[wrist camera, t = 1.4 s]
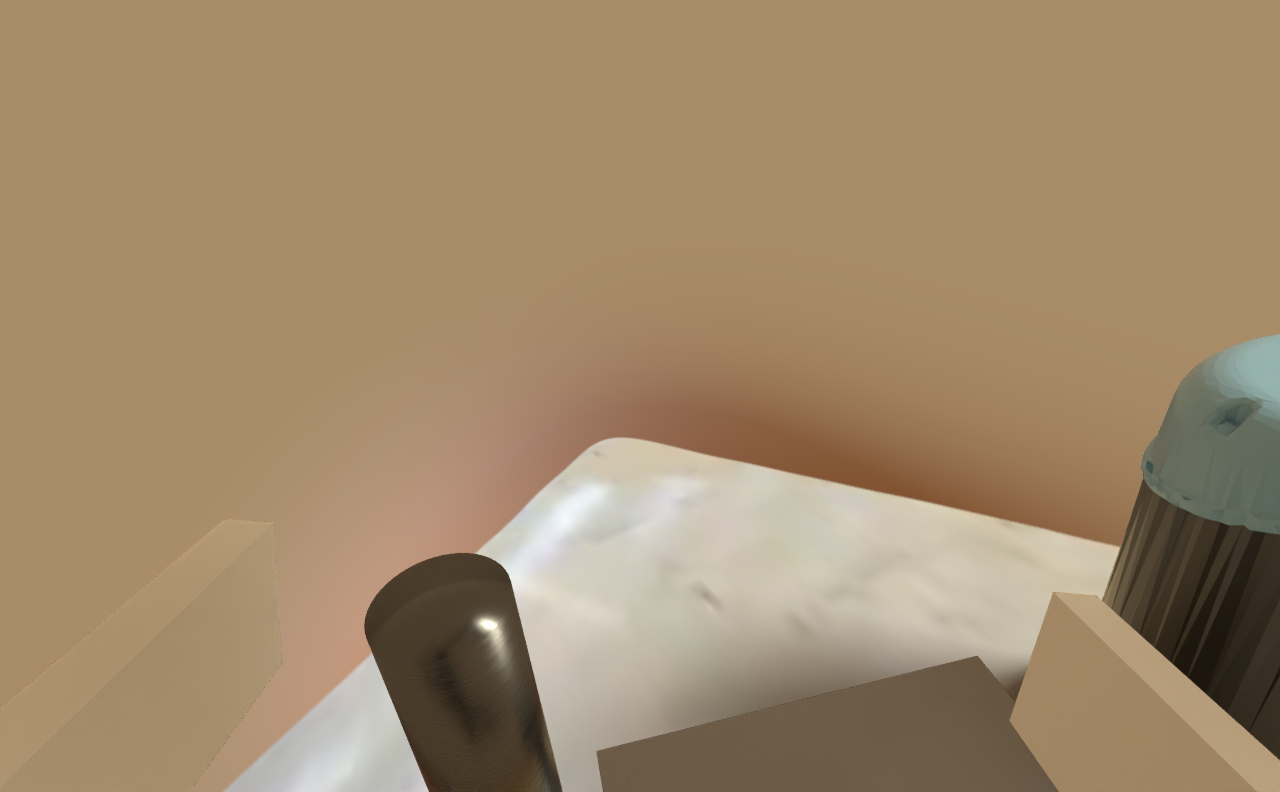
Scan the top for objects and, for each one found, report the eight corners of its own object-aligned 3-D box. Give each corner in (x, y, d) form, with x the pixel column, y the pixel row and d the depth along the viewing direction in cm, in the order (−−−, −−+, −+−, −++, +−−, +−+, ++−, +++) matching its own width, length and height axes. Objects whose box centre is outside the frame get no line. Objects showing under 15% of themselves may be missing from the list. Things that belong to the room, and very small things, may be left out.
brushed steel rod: (929, 814, 30) (1005, 440, 21) (980, 902, 27) (1098, 511, 18) (380, 969, 27) (168, 611, 17) (367, 1090, 24) (100, 735, 14)
